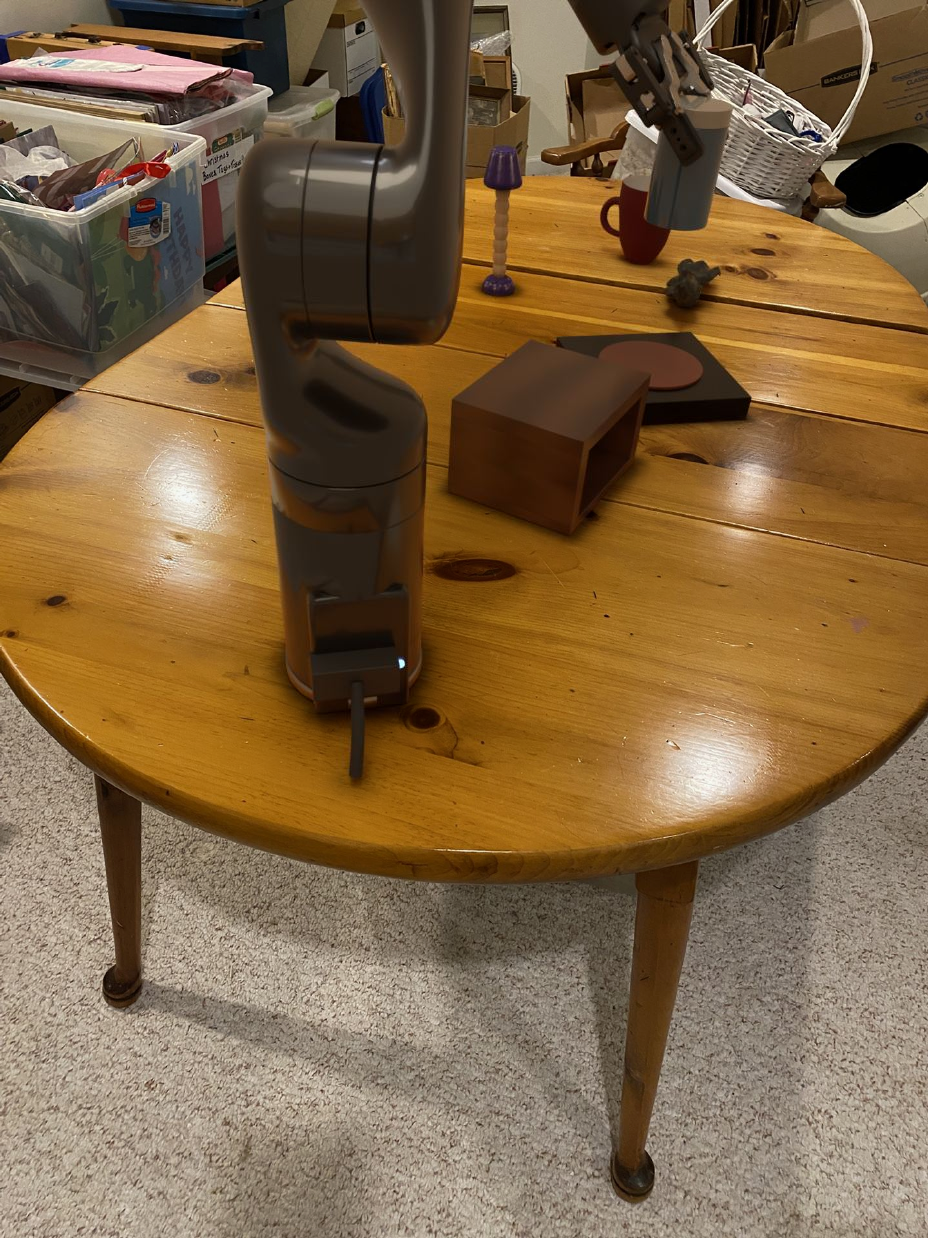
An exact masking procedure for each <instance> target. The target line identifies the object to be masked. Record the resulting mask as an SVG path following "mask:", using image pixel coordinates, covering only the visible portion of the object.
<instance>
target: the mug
mask: <svg viewBox="0 0 928 1238" xmlns="http://www.w3.org/2000/svg"><path fill="white" fill-rule="evenodd" d="M650 180H651V174H649V175H648V174H637V175H636V174H635V175H629V176H627V177H625V178H623V179H622V181H621V187H620V192H619V196H612V197H610V198H608V199H607V200H606V201H605V202H604V203H603V205H602V206H601V210H600V214H599V220H600V221H599V222H600V225H601V227H602V229H603V230H604V231H605V232H606V233H608V234H609V235H611V236H613V237H615V238H618V239H619V244H620V246H621V247H620V248H621V249H622V253H623V256H624V259H625V260H627V262H629V263H632V264H634V265H649V264H653V262H655V260H656V259H657V258H658V257H659V255H660V254H661V252H662V251H663V250H664V248H665V246H666V244H667V242H668V239H669V237H670V234H671V231H672V230H669V229H664V228H661V227H657V226H655V225H652V224H650V223H649V222H647V221H646V220H645V218H644V213H645V208H646V202H647V197H648V191H649V185H650ZM613 206H618V229H615V228H614V227H612V226H611V225H610V223H609V220H608V216H609V215H608V214H609V211H610V209H611V208H612V207H613Z"/></svg>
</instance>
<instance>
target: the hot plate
mask: <svg viewBox="0 0 928 1238" xmlns="http://www.w3.org/2000/svg"><path fill="white" fill-rule="evenodd" d="M555 346H556V347H559V348H563V349H566V350H570V351H573V352H577V353H580V354H584V355H587V356H591V357H594V358H598V359H601V360H605V361H608V362H612V363H615V364H619V365H622V366H625V367H629V368H632V369H636V370H639V371H643V372H646V373H650V374H651V379H650V384H649V389H648V393H647V398H646V403H645V408H644V413H643V418H642V423H641V426H657V425H672V424H673V425H674V424H688V423H705V422H722V421H725V422H726V421H740V420H741V421H742V420H747V416H748V413H749V410H750V405H751V402H752V399H753V397H752V396H751V395H750V394H749V393H748V391H747V390H746V389H745V388H744V387H743V386H742V385H741V384H740V383H739V382H738V381H737V380H736V379H735V377H734V376H733V374H731V373H730V372H729V371H728V369H726V368H725V367H724V366H723V364H722V363H721V362H720V361H719V360H718V359H717V358H716V357H715V356H714V354H712V353H711V351H709V349H708V348H707V347H706V346H705V345H704V344H703V343H702V342H701V341H700V340H699V339H698V338H697V336H695V334H693V332H692V331H673V332H671V331H670V332H669V331H668V332H643V333H618V334H593V335H591V334H590V335H567V336H564V335H563V336H556V340H555Z"/></svg>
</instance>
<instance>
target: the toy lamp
mask: <svg viewBox="0 0 928 1238" xmlns="http://www.w3.org/2000/svg"><path fill="white" fill-rule="evenodd" d="M482 183H483V185H484V186H485V187H486V188H488V189H490V190H494V194H495V195H494V196H495V202H494V210H495V213H494V215H493V216H494V219H493V221H494V228H493V236H494V238H493V241H492V248H493V250H494V251H493V253H492V261H493V264H492V269H491V271H492V273H490V274H489V275H487V276H486V277H485V278H484V279H483V282H482V284H481V290H482V292H483V293H484V294H487V295H490V296H493V297H494V296H495V297H505V296H510V295H512V294H514V292H515V289H516V287H515V283H514V280H513V279H512V278H511V277H510V275H507V265H506V263H507V259H508V255H507V250H508V240H507V238H508V236H509V227H508V224H509V222H510V216H509V211H510V201H509V199H510V197H511V191H514V190H518V189H520V188H521V187H522V185H523V175H522V171H521V163H520V158H519V153H518V150H517V148H516V147H514V146H511V145H507V144H504V145H501V144H500V145H495V146H493V147H492V148H491V151H490V154H489V156H488V161H487V164H486V168H485V172H484V175H483V181H482Z"/></svg>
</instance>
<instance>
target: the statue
mask: <svg viewBox="0 0 928 1238" xmlns="http://www.w3.org/2000/svg"><path fill="white" fill-rule="evenodd" d="M676 270H677V273H678V275H675V276H672V277H671V278H670V279H669V280H668V281H667V282H666V285H665V286H666V287H665V288H664V295H665V296H666V297H667V298H668V299H672V300H673V299H674V300H675V301H676V302H677V304H678V305H679V306H681V307H682V308H690V307H692V306H694V305H695V304H697V302H698V301H699V299H700V298H701V297H700V296H701V292H702V290H703V286H705V285H706V284H708V283H710V282H712V281H713V280H714V279H715V278H716V277H718V276H719V277H721V276H722V271H721V269H720V266H714V267H712V268H710V266H709V265H708V263H707V262H706V261H705V260H704V259H703V260H702V259H701V260H697V261H694V260H693V259H691V258H684V259H683V260H681V261H680V262H679V263H678V264H677V267H676Z"/></svg>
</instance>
